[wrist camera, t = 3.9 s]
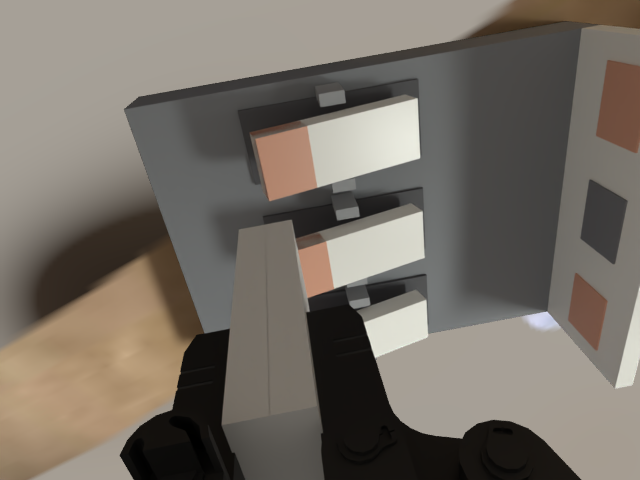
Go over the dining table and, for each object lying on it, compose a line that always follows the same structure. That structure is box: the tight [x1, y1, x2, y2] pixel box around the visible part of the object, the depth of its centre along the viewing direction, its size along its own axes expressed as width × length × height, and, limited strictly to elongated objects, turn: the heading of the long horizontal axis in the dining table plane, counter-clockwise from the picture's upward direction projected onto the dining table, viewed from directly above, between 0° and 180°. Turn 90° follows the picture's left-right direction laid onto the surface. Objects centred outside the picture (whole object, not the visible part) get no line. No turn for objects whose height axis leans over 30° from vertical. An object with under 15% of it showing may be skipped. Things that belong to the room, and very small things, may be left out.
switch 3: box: [357, 290, 428, 358], centre depth 28 cm, size 8×3×1 cm, turn 99°
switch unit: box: [124, 21, 640, 388], centre depth 25 cm, size 24×18×10 cm
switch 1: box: [250, 95, 420, 201], centre depth 22 cm, size 8×3×1 cm, turn 99°
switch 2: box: [296, 203, 425, 298], centre depth 25 cm, size 8×3×1 cm, turn 99°
